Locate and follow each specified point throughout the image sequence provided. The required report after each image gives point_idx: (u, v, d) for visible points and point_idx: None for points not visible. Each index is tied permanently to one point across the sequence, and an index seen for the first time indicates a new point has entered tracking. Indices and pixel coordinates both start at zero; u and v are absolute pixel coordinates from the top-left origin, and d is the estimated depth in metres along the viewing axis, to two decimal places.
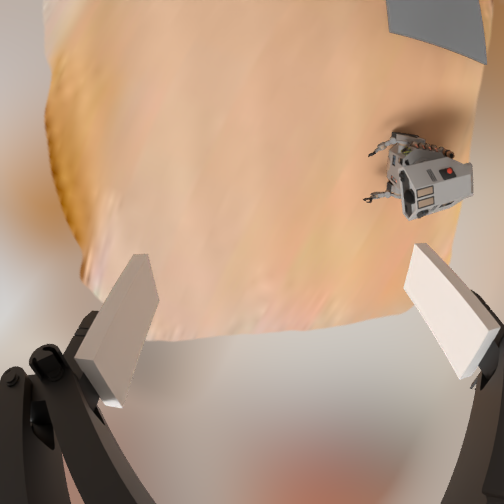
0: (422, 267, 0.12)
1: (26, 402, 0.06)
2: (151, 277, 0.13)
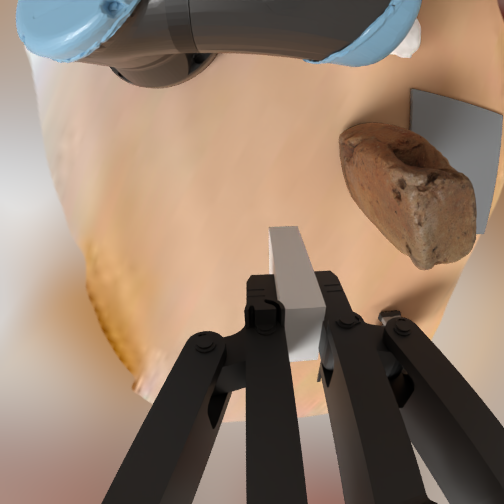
0: None
1: (215, 377, 0.07)
2: None
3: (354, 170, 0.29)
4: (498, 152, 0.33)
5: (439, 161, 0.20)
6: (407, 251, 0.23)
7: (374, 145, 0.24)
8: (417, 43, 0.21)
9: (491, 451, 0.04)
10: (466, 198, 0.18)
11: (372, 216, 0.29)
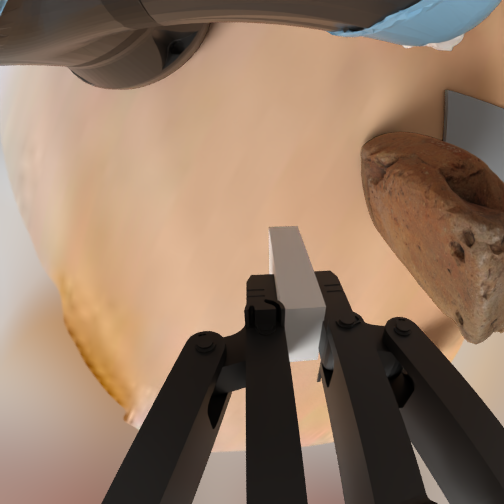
0: None
1: (215, 377, 0.07)
2: None
3: (386, 198, 0.21)
4: None
5: None
6: (456, 319, 0.15)
7: (419, 169, 0.16)
8: None
9: (491, 451, 0.04)
10: None
11: (406, 259, 0.21)
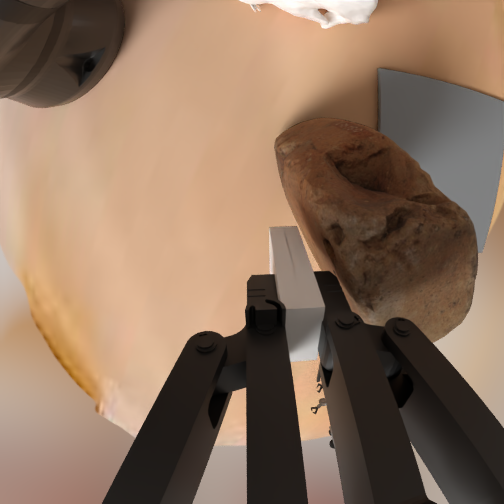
0: None
1: (216, 377, 0.07)
2: None
3: (287, 191, 0.21)
4: (501, 150, 0.25)
5: (414, 180, 0.12)
6: None
7: (305, 156, 0.16)
8: None
9: (491, 451, 0.04)
10: (461, 252, 0.10)
11: (315, 258, 0.21)
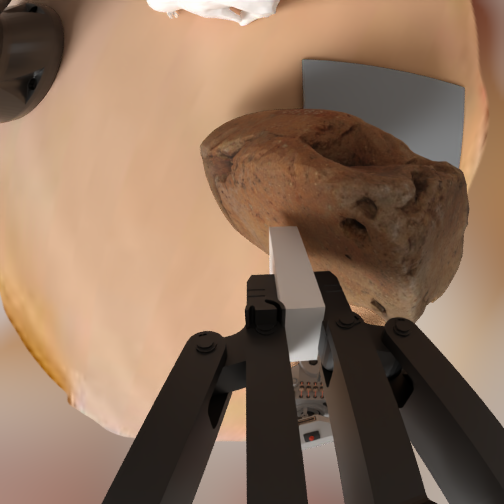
0: None
1: (215, 377, 0.07)
2: None
3: (240, 193, 0.19)
4: (459, 139, 0.26)
5: (398, 149, 0.13)
6: (374, 309, 0.14)
7: (273, 144, 0.15)
8: None
9: (491, 451, 0.04)
10: (461, 201, 0.11)
11: None
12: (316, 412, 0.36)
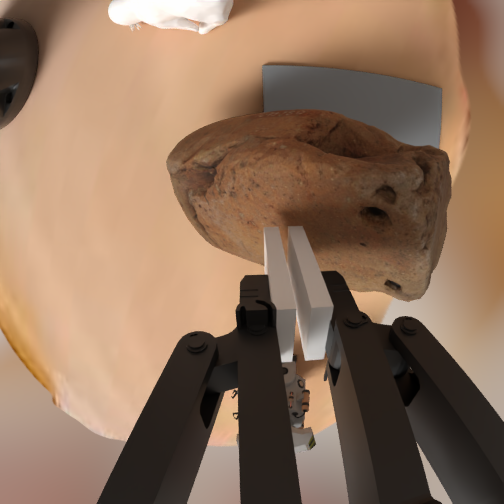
0: (290, 248, 0.14)
1: (207, 376, 0.07)
2: None
3: (227, 203, 0.18)
4: (436, 143, 0.26)
5: (385, 138, 0.14)
6: (387, 289, 0.15)
7: (268, 147, 0.15)
8: None
9: (495, 450, 0.04)
10: (447, 178, 0.13)
11: None
12: None
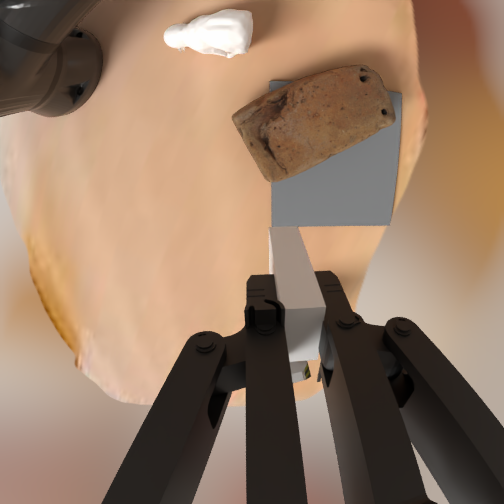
0: None
1: (215, 377, 0.07)
2: None
3: (299, 109, 0.30)
4: (397, 134, 0.38)
5: None
6: (384, 116, 0.31)
7: (311, 77, 0.30)
8: (241, 37, 0.26)
9: (491, 451, 0.04)
10: None
11: (333, 138, 0.32)
12: None
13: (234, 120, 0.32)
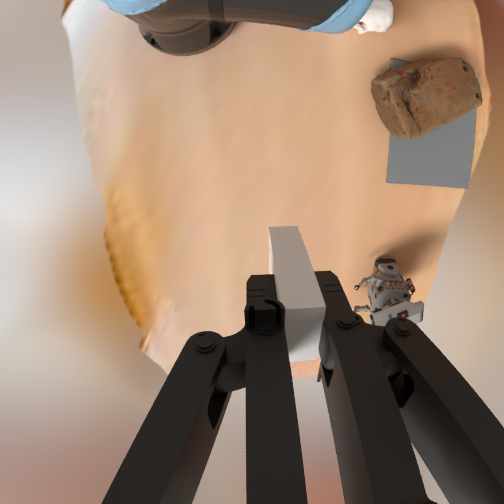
0: None
1: (215, 377, 0.07)
2: None
3: (430, 83, 0.31)
4: (474, 115, 0.38)
5: None
6: (477, 98, 0.31)
7: (432, 61, 0.30)
8: (390, 19, 0.27)
9: (491, 451, 0.04)
10: None
11: (450, 109, 0.32)
12: None
13: (381, 83, 0.33)
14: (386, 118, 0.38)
